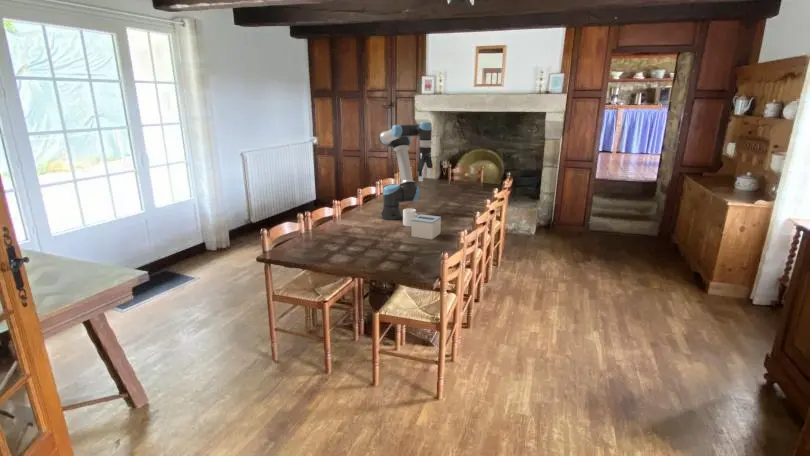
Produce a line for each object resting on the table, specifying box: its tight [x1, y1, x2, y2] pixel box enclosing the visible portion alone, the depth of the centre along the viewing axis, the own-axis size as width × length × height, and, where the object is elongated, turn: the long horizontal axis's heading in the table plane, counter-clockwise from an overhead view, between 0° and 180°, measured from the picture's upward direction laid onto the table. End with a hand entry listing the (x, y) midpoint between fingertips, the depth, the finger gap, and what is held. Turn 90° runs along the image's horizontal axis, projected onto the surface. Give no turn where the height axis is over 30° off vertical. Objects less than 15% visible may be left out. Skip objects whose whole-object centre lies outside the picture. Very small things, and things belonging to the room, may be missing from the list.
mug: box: [402, 208, 419, 228], centre depth 291 cm, size 9×12×11 cm
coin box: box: [410, 213, 442, 240], centre depth 271 cm, size 14×14×11 cm
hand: (424, 179), depth 283 cm, fingers open, 13 cm apart
